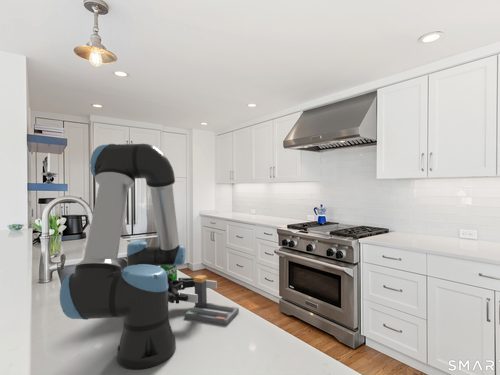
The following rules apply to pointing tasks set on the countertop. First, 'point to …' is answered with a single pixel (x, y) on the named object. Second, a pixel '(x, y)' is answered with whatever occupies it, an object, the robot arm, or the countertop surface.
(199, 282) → the breaker handle
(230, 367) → the countertop surface
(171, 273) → the soda can
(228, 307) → the grey base
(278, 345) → the countertop surface
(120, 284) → the robot arm
